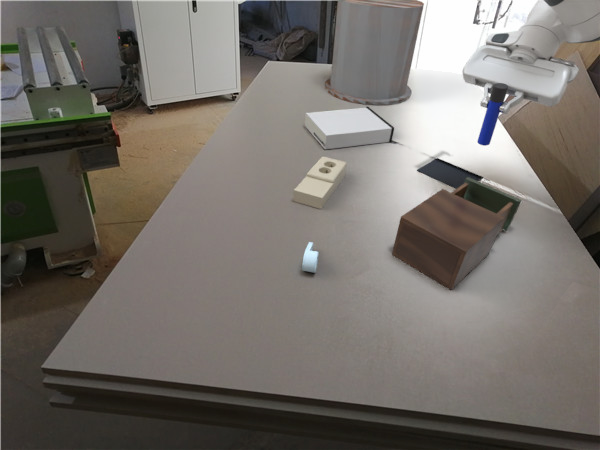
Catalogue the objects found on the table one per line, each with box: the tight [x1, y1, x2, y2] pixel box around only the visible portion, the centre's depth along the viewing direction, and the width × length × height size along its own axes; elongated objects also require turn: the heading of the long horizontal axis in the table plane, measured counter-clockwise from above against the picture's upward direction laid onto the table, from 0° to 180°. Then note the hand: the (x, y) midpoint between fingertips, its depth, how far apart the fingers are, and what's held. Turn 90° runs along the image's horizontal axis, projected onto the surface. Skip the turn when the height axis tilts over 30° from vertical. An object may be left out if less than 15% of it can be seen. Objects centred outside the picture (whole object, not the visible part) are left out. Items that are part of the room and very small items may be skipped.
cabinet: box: [391, 188, 504, 291], centre depth 81 cm, size 16×14×10 cm
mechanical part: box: [301, 241, 319, 274], centre depth 79 cm, size 8×2×4 cm, turn 169°
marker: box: [477, 83, 508, 146], centre depth 85 cm, size 3×3×13 cm
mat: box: [416, 157, 484, 190], centre depth 112 cm, size 14×14×1 cm
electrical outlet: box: [293, 156, 348, 210], centre depth 101 cm, size 7×4×18 cm
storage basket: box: [324, 0, 425, 106], centre depth 155 cm, size 35×35×32 cm
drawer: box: [450, 177, 523, 235], centre depth 89 cm, size 19×12×8 cm, turn 134°
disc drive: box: [304, 106, 395, 150], centre depth 128 cm, size 18×22×5 cm
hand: (492, 108), depth 84 cm, fingers closed on marker, 3 cm apart
